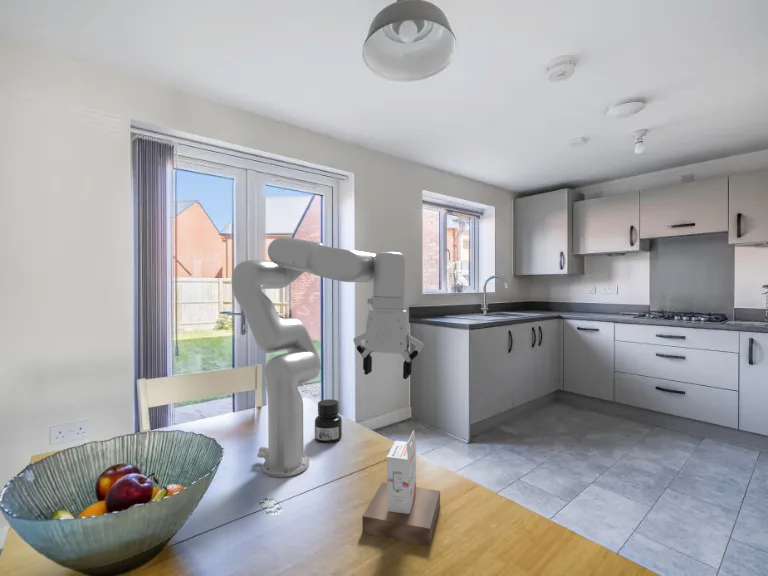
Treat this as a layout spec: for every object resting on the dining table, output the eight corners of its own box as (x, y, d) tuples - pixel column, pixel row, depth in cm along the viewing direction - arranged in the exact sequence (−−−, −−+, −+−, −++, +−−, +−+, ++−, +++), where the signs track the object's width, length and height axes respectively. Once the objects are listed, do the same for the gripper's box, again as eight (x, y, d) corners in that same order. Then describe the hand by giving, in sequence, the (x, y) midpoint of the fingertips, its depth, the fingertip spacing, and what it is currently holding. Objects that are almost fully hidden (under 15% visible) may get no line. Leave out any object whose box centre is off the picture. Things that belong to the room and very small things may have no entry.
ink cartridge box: (395, 489, 87) (394, 426, 87) (416, 492, 86) (416, 428, 85) (386, 512, 79) (385, 442, 78) (409, 515, 77) (409, 444, 77)
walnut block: (362, 535, 77) (362, 516, 77) (382, 498, 91) (382, 481, 91) (429, 548, 73) (429, 528, 73) (440, 508, 87) (440, 490, 87)
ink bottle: (309, 442, 121) (308, 405, 121) (320, 432, 130) (319, 397, 130) (337, 445, 119) (337, 407, 119) (346, 434, 128) (346, 399, 127)
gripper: (348, 303, 89) (347, 375, 89) (420, 306, 83) (418, 383, 83) (360, 301, 96) (359, 368, 96) (427, 304, 90) (425, 375, 91)
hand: (386, 375), depth 90 cm, fingers open, 9 cm apart
